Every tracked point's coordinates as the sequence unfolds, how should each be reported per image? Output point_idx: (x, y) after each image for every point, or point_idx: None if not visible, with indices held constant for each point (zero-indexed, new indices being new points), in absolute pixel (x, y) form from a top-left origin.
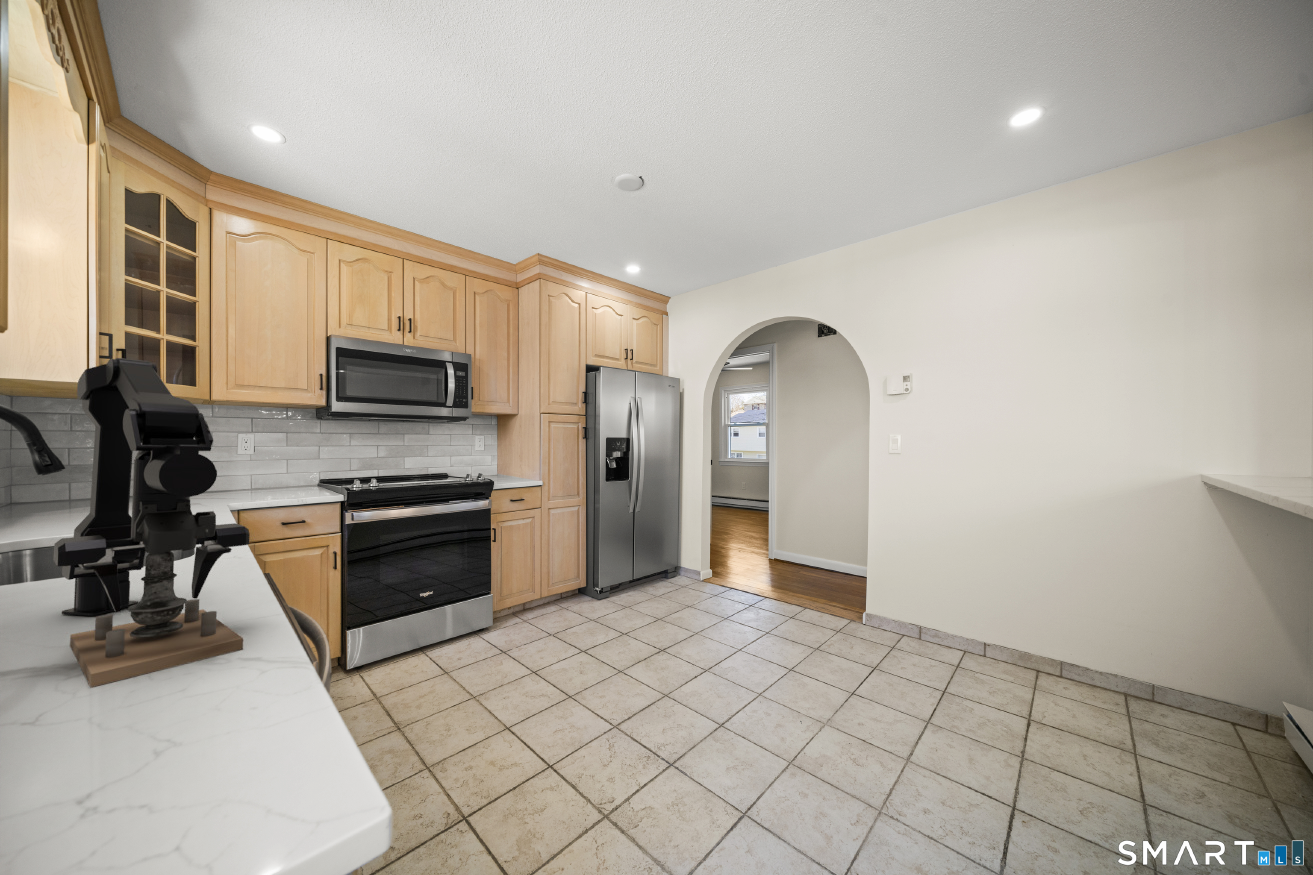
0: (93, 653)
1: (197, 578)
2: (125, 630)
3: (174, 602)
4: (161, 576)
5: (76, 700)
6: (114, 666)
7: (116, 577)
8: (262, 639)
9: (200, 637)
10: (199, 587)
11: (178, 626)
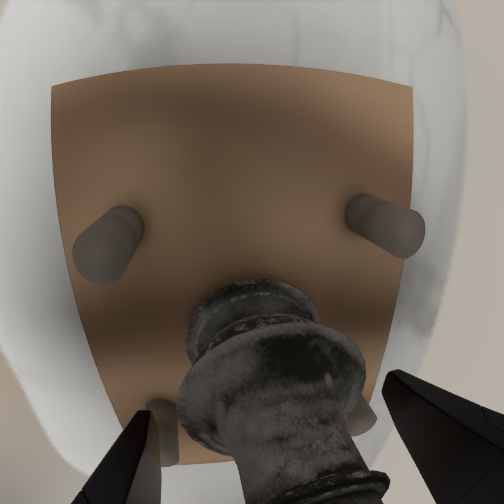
0: (384, 273)
1: (131, 487)
2: None
3: (229, 374)
4: (334, 500)
5: (408, 39)
6: (375, 100)
7: (502, 443)
8: (13, 156)
9: (146, 208)
10: (125, 443)
11: (200, 322)
